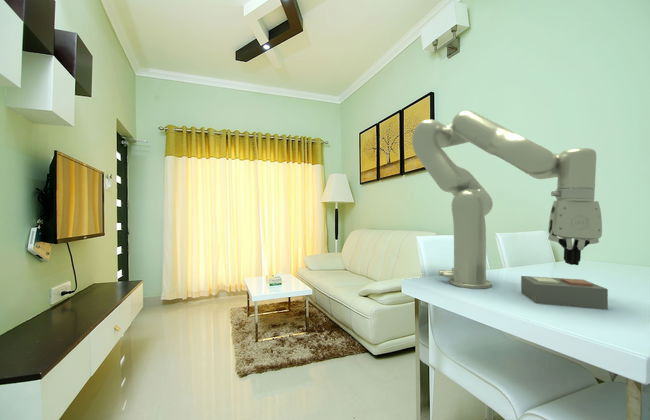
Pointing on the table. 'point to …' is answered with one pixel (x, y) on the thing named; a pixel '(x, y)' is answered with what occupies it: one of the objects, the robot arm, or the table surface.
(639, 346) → the table surface
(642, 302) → the table surface
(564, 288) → the key panel
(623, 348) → the table surface
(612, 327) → the table surface
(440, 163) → the robot arm
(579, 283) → the red key
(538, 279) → the cream key
